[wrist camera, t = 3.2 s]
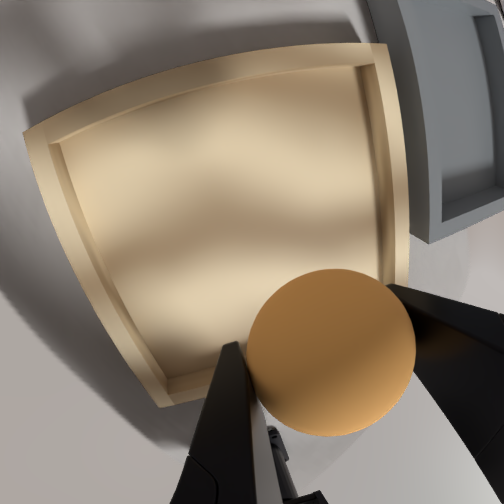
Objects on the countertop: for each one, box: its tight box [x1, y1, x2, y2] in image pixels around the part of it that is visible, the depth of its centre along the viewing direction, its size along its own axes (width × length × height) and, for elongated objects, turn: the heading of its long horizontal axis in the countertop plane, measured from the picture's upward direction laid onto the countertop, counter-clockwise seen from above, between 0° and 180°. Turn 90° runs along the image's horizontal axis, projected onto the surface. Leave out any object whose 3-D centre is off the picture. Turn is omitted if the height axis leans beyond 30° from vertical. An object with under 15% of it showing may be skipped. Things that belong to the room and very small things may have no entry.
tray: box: [367, 0, 504, 244], centre depth 13 cm, size 15×11×2 cm
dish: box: [23, 43, 409, 408], centre depth 14 cm, size 16×16×2 cm
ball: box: [246, 269, 416, 436], centre depth 7 cm, size 4×4×4 cm
